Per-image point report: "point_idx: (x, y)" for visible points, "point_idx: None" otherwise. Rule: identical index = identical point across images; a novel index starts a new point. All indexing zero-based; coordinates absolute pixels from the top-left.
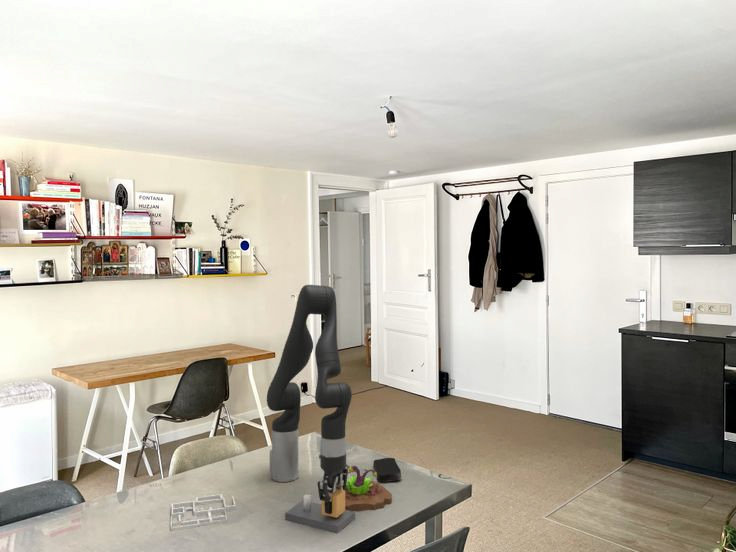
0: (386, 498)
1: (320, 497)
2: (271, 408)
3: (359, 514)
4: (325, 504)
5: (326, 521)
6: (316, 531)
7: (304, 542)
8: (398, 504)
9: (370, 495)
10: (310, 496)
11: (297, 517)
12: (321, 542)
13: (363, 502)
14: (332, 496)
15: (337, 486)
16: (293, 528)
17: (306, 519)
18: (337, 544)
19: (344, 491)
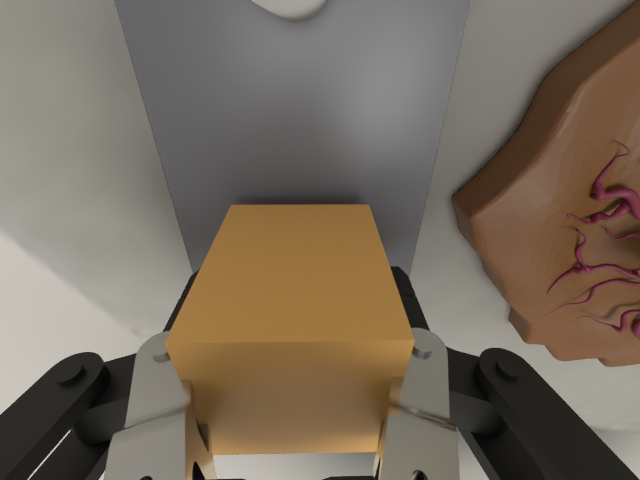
0: (605, 359)
1: (25, 407)
2: None
3: (446, 286)
4: (174, 321)
5: (206, 249)
6: (151, 195)
7: (5, 204)
8: (582, 364)
9: (636, 309)
10: (297, 4)
11: None
12: (88, 272)
13: (528, 312)
14: (201, 427)
15: (376, 458)
16: (46, 9)
17: (145, 91)
18: (134, 327)
19: (368, 447)
